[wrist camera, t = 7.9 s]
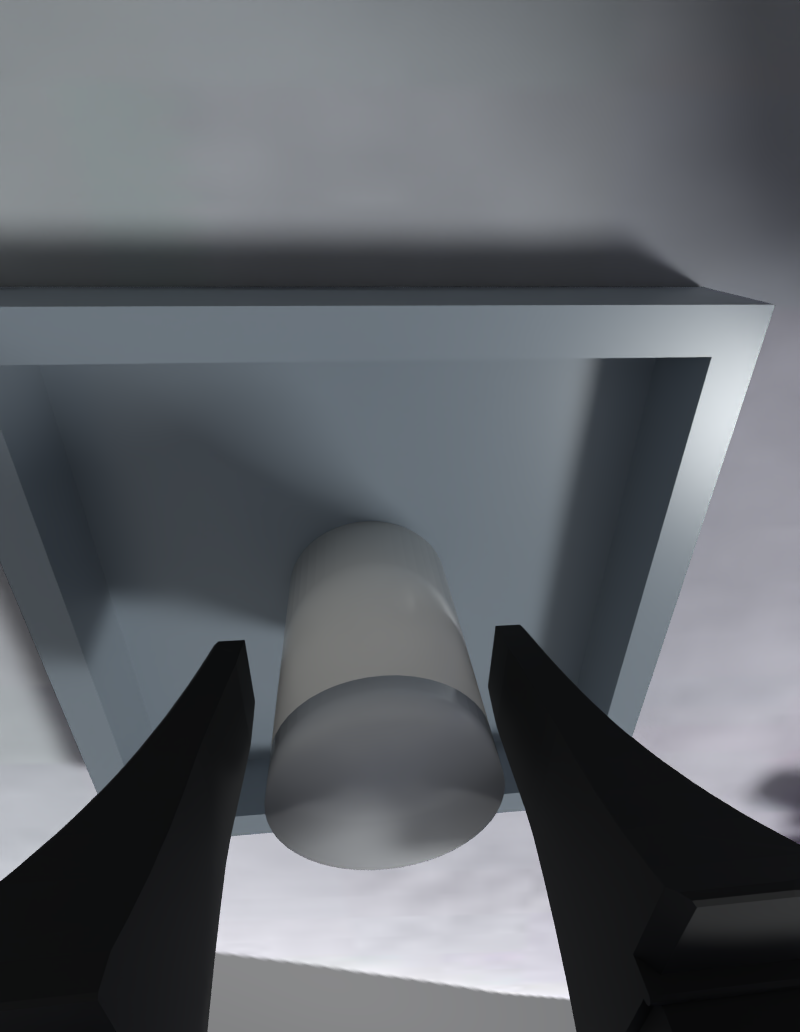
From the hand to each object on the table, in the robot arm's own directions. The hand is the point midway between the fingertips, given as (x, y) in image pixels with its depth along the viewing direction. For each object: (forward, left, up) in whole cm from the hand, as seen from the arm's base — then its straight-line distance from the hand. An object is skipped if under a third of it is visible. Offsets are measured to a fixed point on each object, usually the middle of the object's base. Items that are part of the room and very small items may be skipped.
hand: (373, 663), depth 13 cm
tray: (0, 0, -3) cm, 3 cm away
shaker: (0, 0, -3) cm, 3 cm away
